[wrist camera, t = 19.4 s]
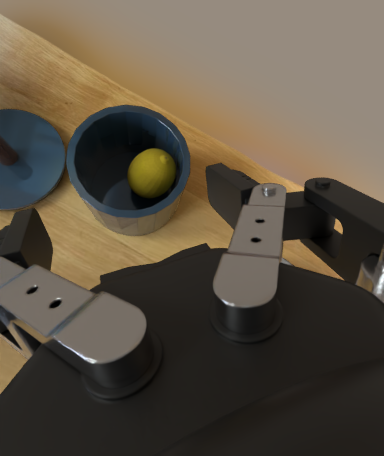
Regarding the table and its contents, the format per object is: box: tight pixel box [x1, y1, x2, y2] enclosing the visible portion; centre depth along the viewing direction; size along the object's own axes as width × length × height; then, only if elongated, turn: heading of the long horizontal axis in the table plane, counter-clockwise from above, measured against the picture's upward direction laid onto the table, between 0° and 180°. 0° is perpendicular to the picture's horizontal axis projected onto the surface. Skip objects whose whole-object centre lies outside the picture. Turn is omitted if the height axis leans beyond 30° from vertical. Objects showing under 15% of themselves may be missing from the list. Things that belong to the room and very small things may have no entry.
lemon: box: [127, 148, 176, 198], centre depth 35 cm, size 6×6×8 cm
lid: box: [0, 109, 66, 210], centre depth 34 cm, size 14×14×6 cm
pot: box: [66, 105, 190, 236], centre depth 34 cm, size 13×13×10 cm
